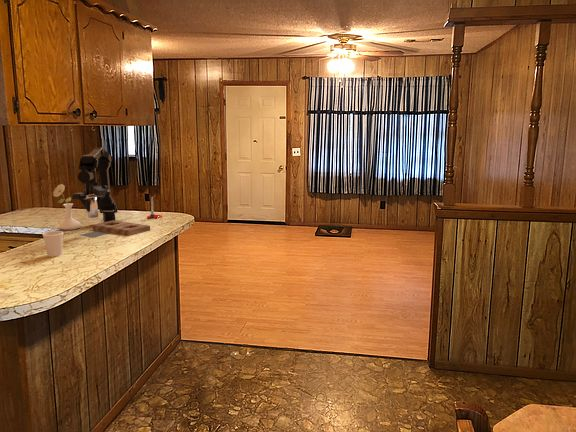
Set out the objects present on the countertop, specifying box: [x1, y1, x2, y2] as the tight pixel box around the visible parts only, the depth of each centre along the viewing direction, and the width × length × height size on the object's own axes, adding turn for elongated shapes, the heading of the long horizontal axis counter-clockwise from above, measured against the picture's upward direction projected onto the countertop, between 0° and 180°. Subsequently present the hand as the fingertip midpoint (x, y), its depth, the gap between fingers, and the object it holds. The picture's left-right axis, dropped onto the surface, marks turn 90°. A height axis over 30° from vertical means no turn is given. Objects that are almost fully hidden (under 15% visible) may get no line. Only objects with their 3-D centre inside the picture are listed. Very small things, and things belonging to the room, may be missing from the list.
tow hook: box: [146, 196, 163, 219], centre depth 294 cm, size 8×13×9 cm
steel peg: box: [87, 196, 99, 219], centre depth 246 cm, size 5×5×10 cm
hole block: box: [92, 219, 151, 237], centre depth 259 cm, size 28×14×3 cm, turn 61°
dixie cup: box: [41, 230, 64, 258], centre depth 211 cm, size 8×8×10 cm
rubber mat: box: [79, 230, 111, 239], centre depth 249 cm, size 11×11×1 cm
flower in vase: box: [52, 183, 82, 231], centre depth 259 cm, size 13×11×25 cm
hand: (92, 211), depth 246 cm, fingers closed on steel peg, 5 cm apart
